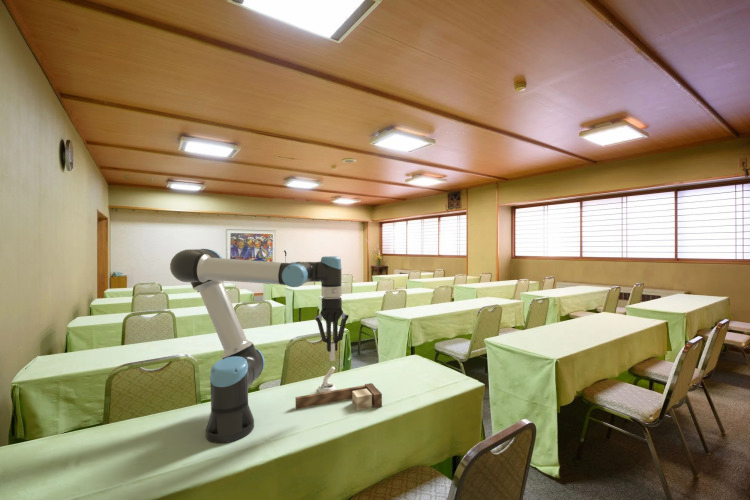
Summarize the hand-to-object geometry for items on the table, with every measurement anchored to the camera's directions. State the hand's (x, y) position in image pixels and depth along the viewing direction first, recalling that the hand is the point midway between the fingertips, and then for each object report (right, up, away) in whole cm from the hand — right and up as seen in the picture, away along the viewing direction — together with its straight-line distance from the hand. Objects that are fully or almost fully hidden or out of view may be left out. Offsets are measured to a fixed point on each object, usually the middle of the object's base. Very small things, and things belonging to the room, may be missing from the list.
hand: (332, 359), depth 129 cm
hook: (-5, -20, +20) cm, 28 cm away
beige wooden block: (+11, -19, +4) cm, 23 cm away
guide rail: (+3, -19, +3) cm, 20 cm away
